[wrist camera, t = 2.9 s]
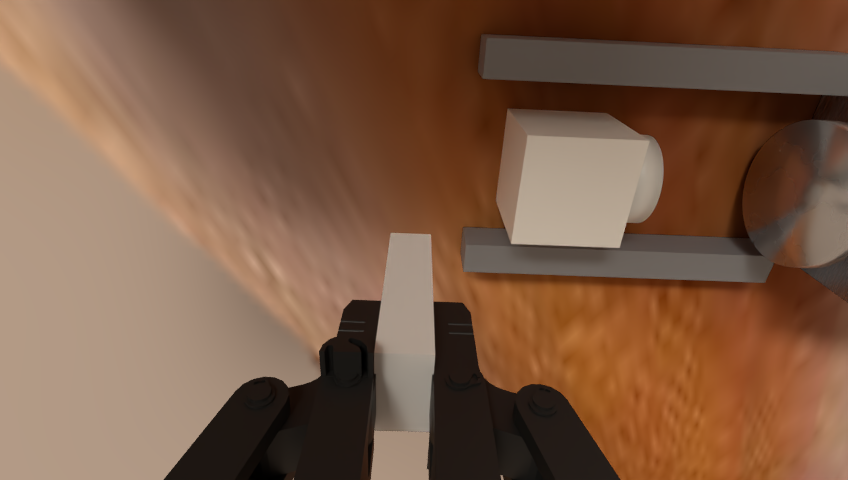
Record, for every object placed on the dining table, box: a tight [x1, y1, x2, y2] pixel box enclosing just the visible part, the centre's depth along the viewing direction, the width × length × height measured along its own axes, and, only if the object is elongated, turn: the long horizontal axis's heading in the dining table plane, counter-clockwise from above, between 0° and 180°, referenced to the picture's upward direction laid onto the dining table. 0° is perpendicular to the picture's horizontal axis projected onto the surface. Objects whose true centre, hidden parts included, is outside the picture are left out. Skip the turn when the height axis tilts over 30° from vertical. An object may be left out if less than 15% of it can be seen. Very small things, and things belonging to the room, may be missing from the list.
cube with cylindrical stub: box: [496, 108, 664, 248], centre depth 27 cm, size 6×8×6 cm
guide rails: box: [461, 34, 848, 283], centre depth 28 cm, size 14×20×2 cm
